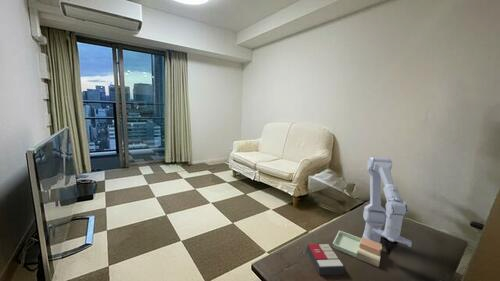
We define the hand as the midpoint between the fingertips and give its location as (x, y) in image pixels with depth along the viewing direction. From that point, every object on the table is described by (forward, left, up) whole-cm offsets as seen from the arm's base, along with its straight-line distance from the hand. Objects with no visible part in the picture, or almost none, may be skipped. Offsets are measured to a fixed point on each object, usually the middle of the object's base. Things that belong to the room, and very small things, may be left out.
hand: (388, 253), depth 94 cm
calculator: (+19, -23, -5) cm, 30 cm away
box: (0, -17, -4) cm, 18 cm away
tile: (0, -7, -1) cm, 7 cm away
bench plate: (0, -7, -4) cm, 8 cm away
